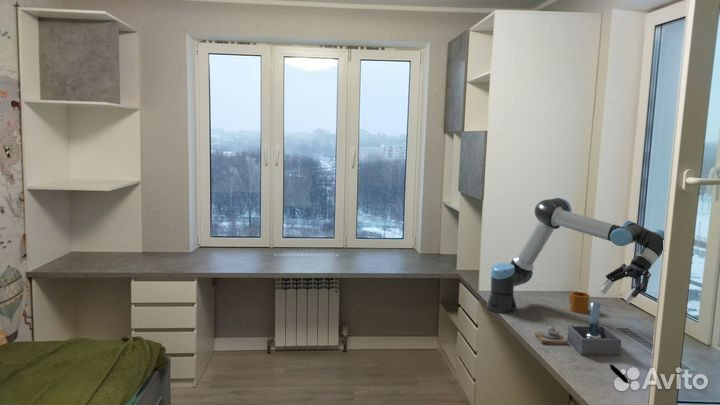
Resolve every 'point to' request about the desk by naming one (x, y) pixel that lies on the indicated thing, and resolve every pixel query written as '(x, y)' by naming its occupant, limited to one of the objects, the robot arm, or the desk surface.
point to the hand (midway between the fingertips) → (614, 297)
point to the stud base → (551, 337)
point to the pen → (618, 373)
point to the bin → (594, 342)
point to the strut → (594, 322)
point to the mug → (579, 302)
